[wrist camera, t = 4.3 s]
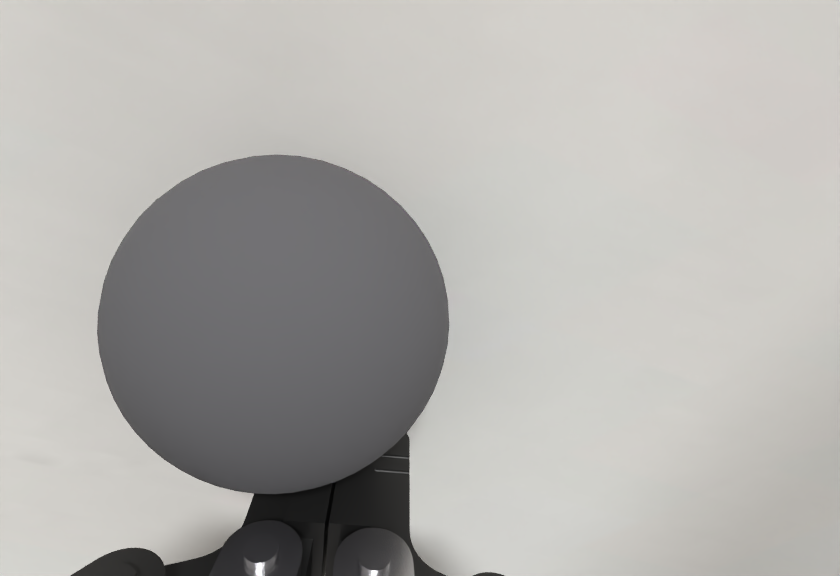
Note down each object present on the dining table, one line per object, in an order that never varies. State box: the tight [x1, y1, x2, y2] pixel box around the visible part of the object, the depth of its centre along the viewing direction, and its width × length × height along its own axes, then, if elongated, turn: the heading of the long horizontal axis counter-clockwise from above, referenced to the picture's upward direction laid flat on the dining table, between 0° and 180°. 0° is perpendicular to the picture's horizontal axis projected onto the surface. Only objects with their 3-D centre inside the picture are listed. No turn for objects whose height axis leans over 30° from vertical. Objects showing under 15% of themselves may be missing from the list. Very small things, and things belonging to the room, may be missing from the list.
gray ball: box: [97, 155, 449, 494], centre depth 8 cm, size 6×6×6 cm
